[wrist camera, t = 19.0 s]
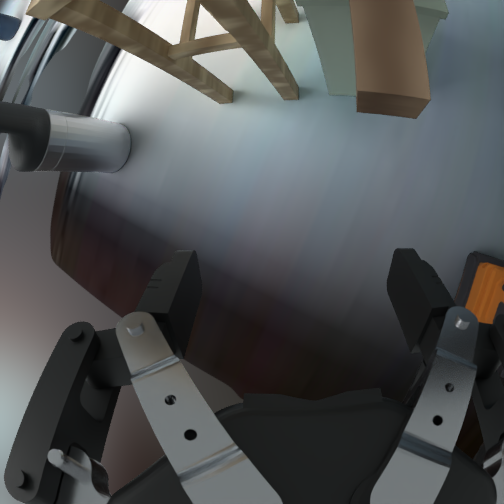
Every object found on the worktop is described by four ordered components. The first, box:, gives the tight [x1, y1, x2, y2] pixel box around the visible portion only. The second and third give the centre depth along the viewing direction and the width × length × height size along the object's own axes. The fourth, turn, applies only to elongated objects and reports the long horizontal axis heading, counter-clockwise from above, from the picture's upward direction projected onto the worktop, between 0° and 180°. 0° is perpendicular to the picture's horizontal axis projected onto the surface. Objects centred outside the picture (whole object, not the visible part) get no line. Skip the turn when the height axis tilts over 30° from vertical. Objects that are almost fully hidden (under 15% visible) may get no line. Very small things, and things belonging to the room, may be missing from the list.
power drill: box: [454, 251, 504, 466], centre depth 21 cm, size 22×7×25 cm, turn 170°
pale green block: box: [295, 0, 449, 96], centre depth 21 cm, size 11×15×22 cm
